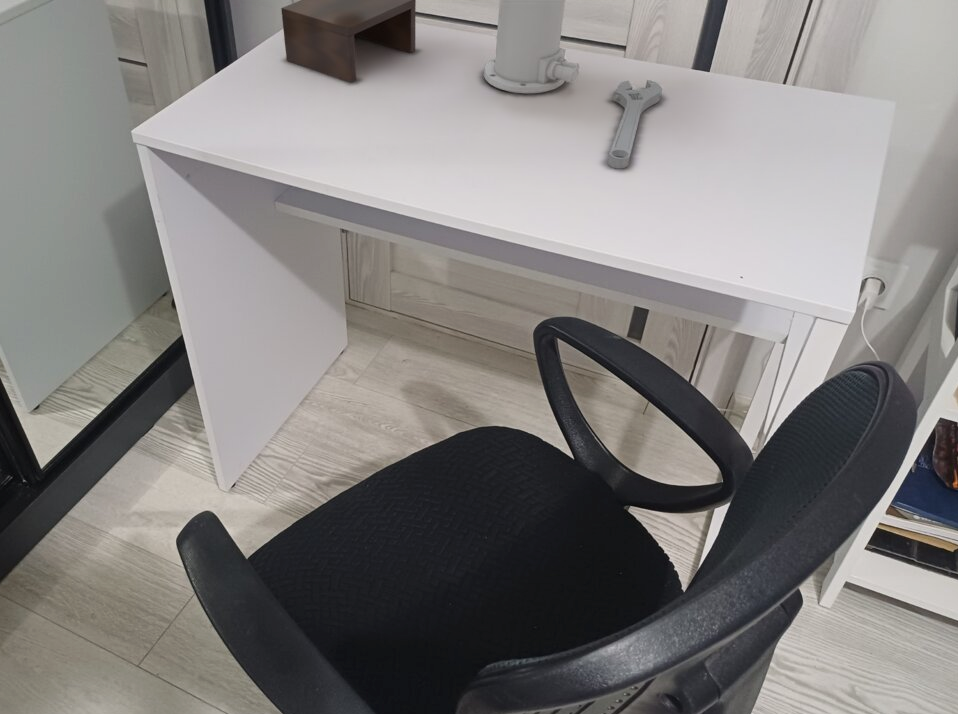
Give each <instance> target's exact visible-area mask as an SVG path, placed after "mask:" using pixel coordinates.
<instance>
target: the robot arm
mask: <svg viewBox="0 0 958 714" xmlns="http://www.w3.org/2000/svg"><path fill="white" fill-rule="evenodd" d="M565 6H566V0H499V3H498V16H497V31H496V43H495V57H494V58H493V59H491V60H490V61H488V62H487V63H486V64H485V65H484V69H483V77H484V79H485V81H486V82H487V83H488V84H490V85H491V86H493V87H494V88H496V89H499V90H502V91H504V92H510V93H516V94H541V93H546V92H550V91H553V90H555V89H557V88H559V87H561V86H562V85H563V84H564V83H566V82H567V83H571V84H574V83H575V82H577V79H578V76H579V69H580V65H579V63H575V62H572V61H567V59H566V48H563V47H560V46H561V37H562V29H563V21H564V14H565Z"/></svg>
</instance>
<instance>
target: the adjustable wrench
mask: <svg viewBox="0 0 958 714" xmlns="http://www.w3.org/2000/svg"><path fill="white" fill-rule="evenodd" d="M662 87H663V86H662V85H661V84H659V83H658V82H656V81H655V80H651V79H646V83H645V88H642V89H641V88H640V89H633V86H632V83H631V82H630V81H629V80H625V81H622V82H620V83H619V84H618V86H617V88H616V89H617V90H616V89H615V90H613V95H612V101H613V102H616V103H617V104H619V105H620V106H621V107H623V109H624V112H623V114H622V117H621V120H620V123H619V125H618V128H617V131H616V134H615V136H614V140H613V142H612V145H611V148H610V150H609V155H608V161H607V164H608V166H610V167H611V168H613V169H625V168H627V167H628V166H629V163H630V159H631V155H632V150H633V147H634V142H635V138H636V134H637V129H638V126H639V122H640V117H641V115H642V113H643V112H644V111H646V110H647V109H648V108H650V107H651V106H653V105H655V104H657V103H659V102H660V100H661V95H662V91H663V88H662Z"/></svg>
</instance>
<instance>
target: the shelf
mask: <svg viewBox="0 0 958 714" xmlns="http://www.w3.org/2000/svg"><path fill="white" fill-rule="evenodd" d="M416 2H417V1H416V0H298V1H296V2H293V3H290V4H287V5H286V6H282V7H281V8H280V10H281V18H282V19H281V20H282V28H283V29H282V30H283V38H284V40H283V41H284V47H285V58H286V61H287V62H290V63H292V64H295V65H299V66H301V67H305V68H307V69H310V70H312V71H316V72H318V73H322V74H325V75H327V76H331V77H333V78H337V79H339V80H342V81H345V82H348V83H351V84H352V83H354V82H356V81H357V67H356V49H355V48H356V47H355V45H356V44H355V43H356V42H355V37H359V38H361V39H365V40H368V41H370V42H374V43H378V44H381V45H384V46H388V47H391V48H394V49H397V50H401V51H403V52H407V53H410V54H411V53H414V52H415V51H416V8H417V7H416Z"/></svg>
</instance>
